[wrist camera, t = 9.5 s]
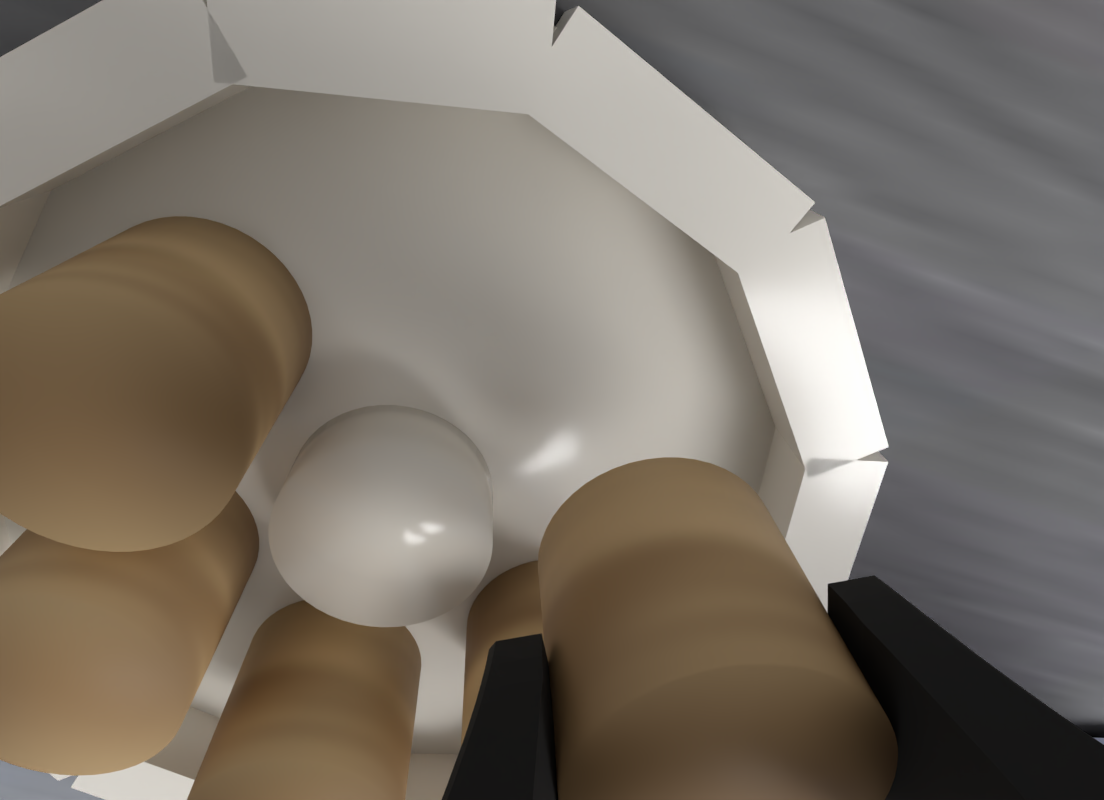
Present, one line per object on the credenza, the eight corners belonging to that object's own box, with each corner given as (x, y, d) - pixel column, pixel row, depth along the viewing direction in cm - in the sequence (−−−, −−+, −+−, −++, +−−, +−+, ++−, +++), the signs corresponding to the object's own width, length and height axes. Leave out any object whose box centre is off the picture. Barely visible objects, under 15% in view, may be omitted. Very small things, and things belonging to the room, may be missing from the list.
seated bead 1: (316, 425, 14) (254, 557, 10) (105, 414, 14) (-35, 545, 10) (308, 226, 12) (231, 300, 9) (68, 206, 12) (-113, 276, 8)
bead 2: (744, 652, 13) (841, 892, 9) (526, 645, 12) (540, 893, 9) (802, 465, 11) (947, 669, 8) (552, 449, 11) (582, 658, 7)
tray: (728, 776, 20) (753, 856, 18) (24, 770, 18) (-33, 857, 16) (944, 50, 12) (1028, 51, 11) (-234, -89, 11) (-400, -118, 9)
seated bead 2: (265, 610, 16) (197, 776, 12) (78, 604, 16) (-48, 774, 12) (252, 457, 14) (169, 598, 11) (43, 447, 14) (-115, 589, 10)
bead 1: (456, 682, 17) (446, 851, 14) (479, 549, 16) (474, 700, 12) (615, 695, 18) (645, 861, 14) (653, 568, 16) (698, 718, 13)
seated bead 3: (419, 724, 18) (400, 897, 14) (255, 721, 17) (191, 899, 14) (423, 600, 16) (402, 760, 13) (242, 593, 16) (167, 757, 12)
